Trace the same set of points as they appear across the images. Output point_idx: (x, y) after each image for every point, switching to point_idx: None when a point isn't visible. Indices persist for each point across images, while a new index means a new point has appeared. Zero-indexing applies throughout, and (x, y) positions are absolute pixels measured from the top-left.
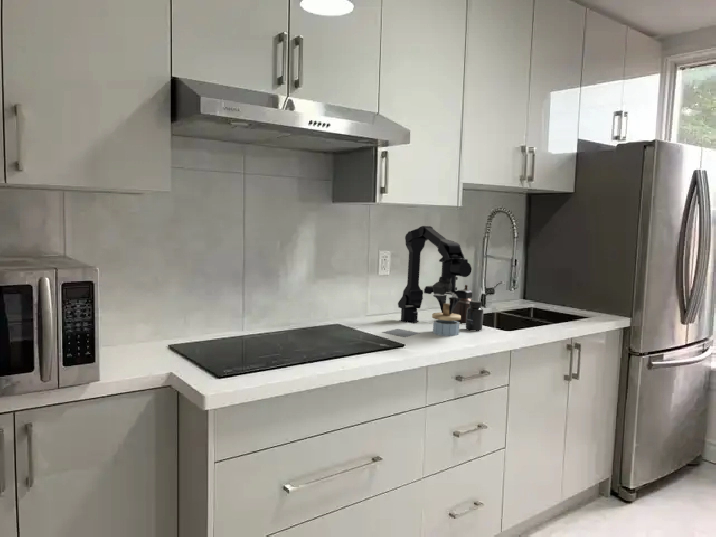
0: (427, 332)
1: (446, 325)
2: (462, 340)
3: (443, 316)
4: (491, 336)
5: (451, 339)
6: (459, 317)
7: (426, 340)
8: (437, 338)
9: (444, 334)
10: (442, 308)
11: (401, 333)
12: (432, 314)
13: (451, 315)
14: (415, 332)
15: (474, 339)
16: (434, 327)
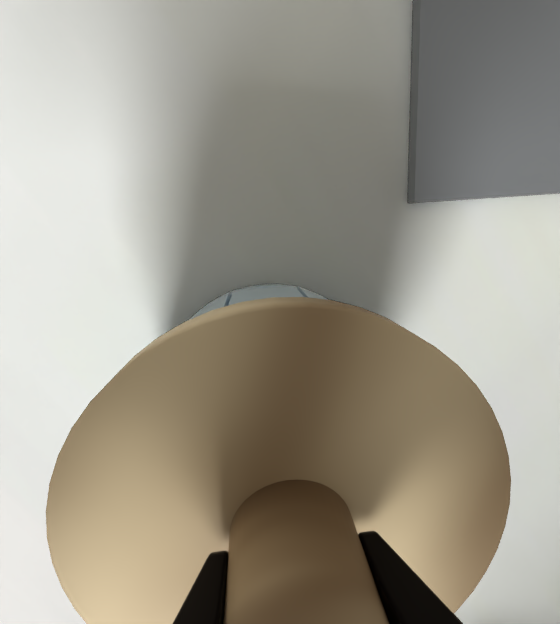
0: (414, 329)
1: None
2: (28, 309)
3: (238, 388)
4: (20, 604)
5: (111, 262)
6: (59, 562)
7: (220, 2)
8: (214, 189)
9: (214, 301)
10: (400, 617)
11: (538, 5)
12: (471, 382)
13: None
14: (462, 179)
15: (5, 425)
16: None
